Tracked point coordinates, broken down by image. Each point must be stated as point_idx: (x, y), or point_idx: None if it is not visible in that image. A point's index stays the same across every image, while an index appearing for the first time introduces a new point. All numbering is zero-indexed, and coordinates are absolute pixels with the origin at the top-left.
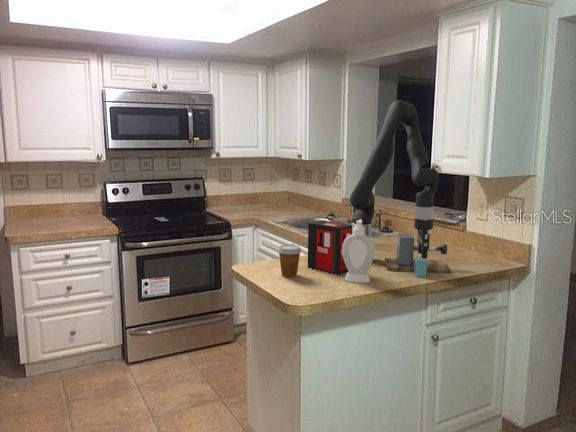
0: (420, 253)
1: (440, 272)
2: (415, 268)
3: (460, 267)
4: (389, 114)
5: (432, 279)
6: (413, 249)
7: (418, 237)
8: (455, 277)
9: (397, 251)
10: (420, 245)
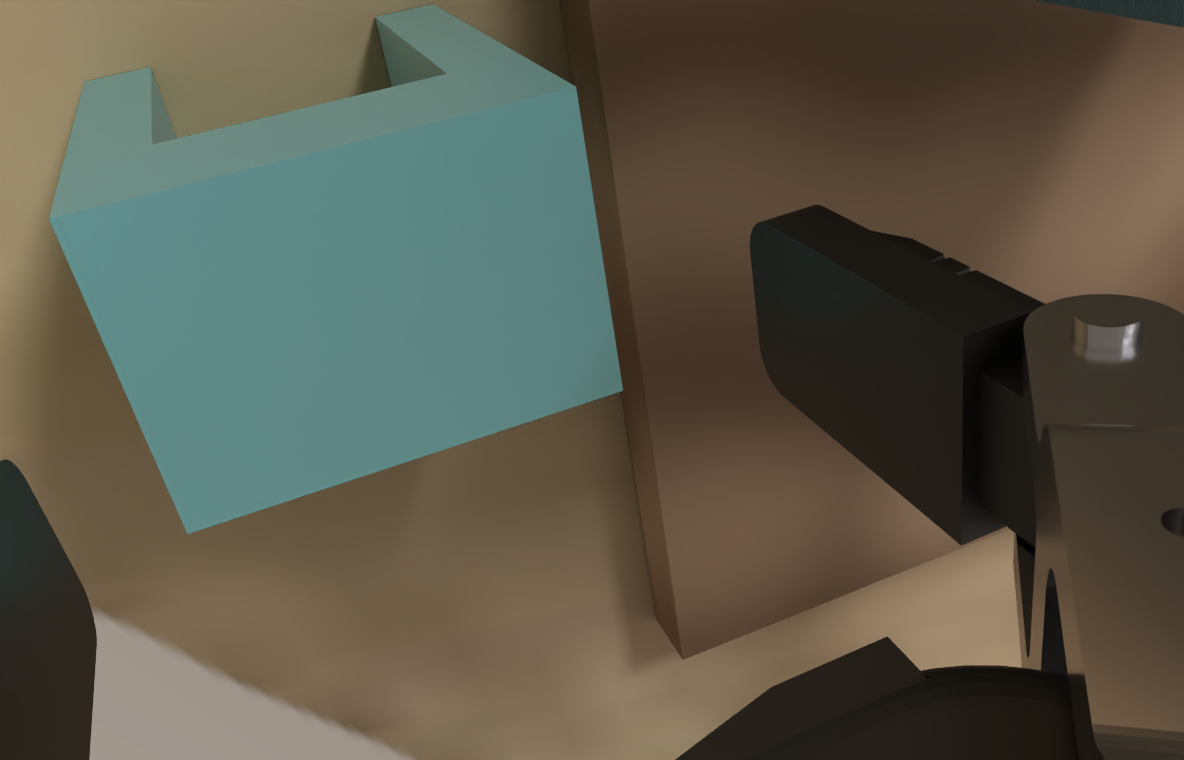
0: (755, 283)
1: (638, 498)
2: (406, 58)
3: (990, 662)
4: None
5: (71, 457)
6: (1091, 3)
7: (1087, 695)
8: (429, 742)
9: None
10: (951, 403)
